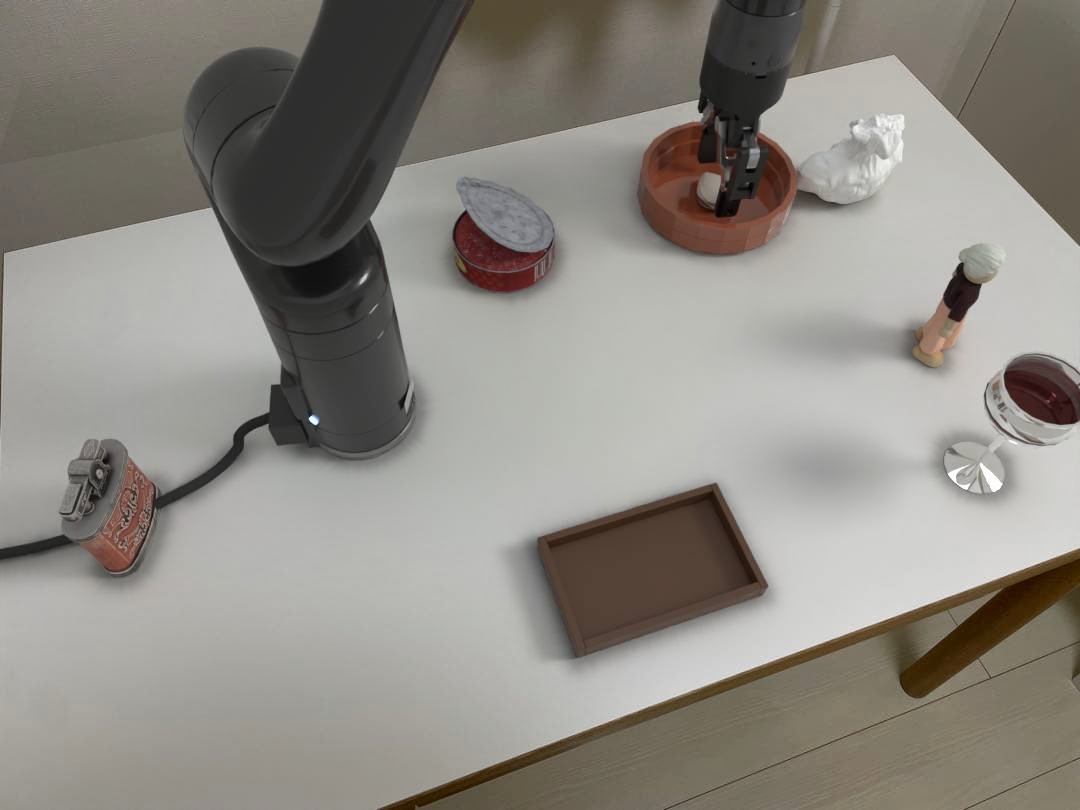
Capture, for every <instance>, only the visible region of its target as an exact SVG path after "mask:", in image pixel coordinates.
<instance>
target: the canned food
mask: <svg viewBox="0 0 1080 810" xmlns="http://www.w3.org/2000/svg"><path fill="white" fill-rule="evenodd" d="M457 179H458V180H457V182H456V185H455V187H456V190H457V193H458V195H459V196H460V199H461V203H462V205H463V207H464V208H465V209H464V211H462V212H461V213H460V214H459V216H458V218H456V220H455V222H454V225H453V228H452V234H451V236H452V237H451V238H452V245H453V254H454V258H453V259H454V263H455V266H456V268H457V270H458V273H460V275H461V276H462V277H463V278H464V279H465V280H466V281H467V282H468V283H469V284H471V285H472V286H474V287H477V288H478V289H481V290H483V291H487V292H492V293H497V294H510V293H517V292H520V291H524V290H527V289H528V290H529V288H531V287H534V286H535V285H537V284H539V283H540V282H541V281H543V280H544V279H545V277H546V276H547V275H548V274H549V273H550V271H551V269H552V267H553V265H554V261H555V244H556V243H555V241H556V228H555V224H554V222H553V221H552V219H551V218H550V215H548V213H546V211H545V210H544V209H543V208H542V207H541V206H539V205H538V204H537V203H536V202H535V201H533V199H531V197H528V196H526V195H524V194H522V193H520V192H518V191H516V190H515V189H514V188H511V187H509V186H505V185H501V184H499V183H497V182H494V181H490V180H484V179H480V178H478V177H468V176H462V177H459V178H457Z"/></svg>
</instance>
